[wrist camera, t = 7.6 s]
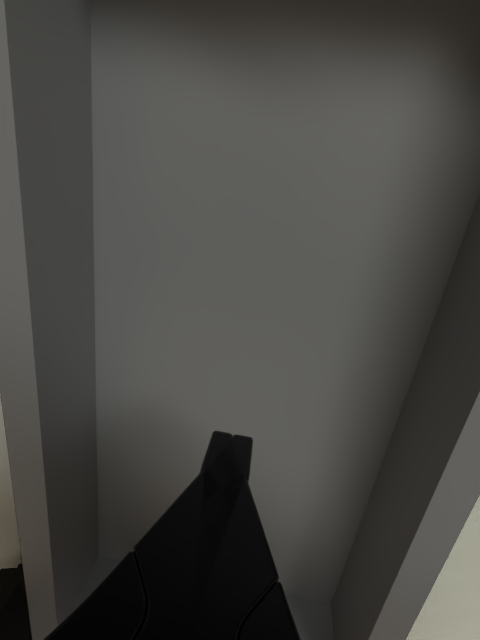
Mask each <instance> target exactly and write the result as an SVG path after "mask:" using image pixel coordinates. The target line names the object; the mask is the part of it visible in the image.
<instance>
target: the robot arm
mask: <svg viewBox="0 0 480 640" xmlns="http://www.w3.org/2000/svg"><path fill="white" fill-rule="evenodd" d="M252 448H253V439H252V438H251V437H248V436H243V435H238V434H235V435H232V434H231V433H227V432H222V431H214V432H213V433H212V436H211V439H210V442H209V445H208V448H207V451H206V454H205V457H204V460H203V463H202V466H201V470H200V473H199V474H198V475H197V477H196V478H195V479H194V480H193V481H192V482H191V483H190V484H189V485H188V487H187V488H186V489H185V490H184V491H183V492H182V493H181V494H180V496H179V497H178V498H177V499H176V500H175V501H174V502H173V503H172V505H171V506H170V507H169V508H168V509H167V510H166V511H165V512H164V514H163V515H162V516H161V517H160V518H159V519H158V520H157V521H156V522H155V524H154V525H153V526H152V527H151V528H150V529H149V530H148V531H147V533H146V534H145V535H144V536H143V537H142V538H141V539H140V540H139V542H138V543H137V544H136V545H135V546H134V547H133V551H130V552H128V554H127V555H126V556H125V557H124V558H123V559H122V560H121V561H120V563H119V564H118V565H117V566H116V567H115V568H114V569H113V570H112V571H111V572H110V574H109V575H108V576H107V577H106V578H105V579H104V580H103V581H102V582H101V583H100V584H99V585H98V586H97V587H96V588H95V589H94V590H93V592H92V593H91V594H90V595H89V596H88V597H87V598H86V599H85V600H84V601H83V602H82V603H81V604H80V605H79V606H78V607H76V608H75V609H74V610H73V611H72V612H71V613H70V614H69V615H68V616H67V617H66V618H65V619H64V620H63V621H62V622H61V623H60V624H59V625H58V626H57V627H56V628H54V629H53V630H52V631H51V632H50V633H49V634H48V635H47V636H46V637H45V638H44V639H43V640H301V639H300V636H299V633H298V630H297V628H296V625H295V622H294V619H293V616H292V614H291V611H290V608H289V605H288V602H287V599H286V596H285V593H284V590H283V587H282V584H281V583H280V582H279V575H278V572H277V569H276V566H275V563H274V560H273V557H272V554H271V551H270V548H269V545H268V542H267V538H266V535H265V532H264V529H263V526H262V523H261V520H260V517H259V514H258V511H257V508H256V505H255V502H254V499H253V496H252V493H251V490H250V486H249V483H248V482H249V476H250V467H251V457H252Z"/></svg>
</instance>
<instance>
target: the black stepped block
mask: <svg viewBox="0 0 480 640" xmlns="http://www.w3.org/2000/svg"><path fill="white" fill-rule="evenodd" d="M0 640H32V633H31V625H30V618H29V610H28V602H27V595H26V587H25V579H24V571H23V564H19V566H18V567H17V568H7V569H1V570H0Z"/></svg>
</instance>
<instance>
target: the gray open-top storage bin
mask: <svg viewBox="0 0 480 640" xmlns="http://www.w3.org/2000/svg"><path fill="white" fill-rule="evenodd" d="M0 394H1V402H2V409H3V417H4V425H5V433H6V440H7V448H8V456H9V463H10V471H11V479H12V487H13V494H14V502H15V510H16V517H17V525H18V533H19V541H20V548H21V556H22V564H23V571H24V579H25V587H26V595H27V602H28V610H29V618H30V625H31V633H32V640H43V639H44V638H45V637H46V636H47V635H48V634H49V633H50V632H51V631H52V630H53V629H54V628H56V627H57V626H58V625H59V624H60V623H61V622H62V621H63V620H64V619H65V618H66V617H67V616H68V615H69V614H70V613H71V612H72V611H73V610H74V609H75V608H76V607H78V606H79V605H80V604H81V603H82V602H83V601H84V600H85V599H86V598H87V597H88V596H89V595H90V594H91V593H92V592H93V590H94V589H95V588H96V587H97V586H98V585H99V584H100V583H101V582H102V581H103V580H104V579H105V578H106V577H107V576H108V575H109V574H110V572H111V571H112V570H113V569H114V568H115V567H116V566H117V565H118V564H119V563H120V561H121V560H122V559H123V558H124V557H125V556H126V555H127V554H128V552H130V551H133V547H134V546H135V545H136V544H137V543H138V542H139V540H140V539H141V538H142V537H143V536H144V535H145V534H146V533H147V531H148V530H149V529H150V528H151V527H152V526H153V525H154V524H155V522H156V521H157V520H158V519H159V518H160V517H161V516H162V515H163V514H164V512H165V511H166V510H167V509H168V508H169V507H170V506H171V505H172V503H173V502H174V501H175V500H176V499H177V498H178V497H179V496H180V494H181V493H182V492H183V491H184V490H185V489H186V488H187V487H188V485H189V484H190V483H191V482H192V481H193V480H194V479H195V478H196V477H197V475H198V474H199V473H200V470H201V466H202V463H203V460H204V457H205V454H206V451H207V448H208V445H209V442H210V439H211V436H212V433H213V432H214V431H222V432H227V433H231V434H232V435H235V434H238V435H243V436H248V437H251V438H252V439H253V448H252V457H251V467H250V476H249V482H248V483H249V486H250V490H251V493H252V496H253V499H254V502H255V505H256V508H257V511H258V514H259V517H260V520H261V523H262V526H263V529H264V532H265V535H266V538H267V542H268V545H269V548H270V551H271V554H272V557H273V560H274V563H275V566H276V569H277V572H278V575H279V582H280V583H281V584H282V587H283V590H284V593H285V596H286V599H287V602H288V605H289V608H290V611H291V614H292V616H293V619H294V622H295V625H296V628H297V630H298V633H299V636H300V639H301V640H406V638H407V636H408V634H409V632H410V630H411V628H412V626H413V624H414V622H415V620H416V618H417V616H418V614H419V612H420V610H421V608H422V606H423V604H424V603H425V601H426V599H427V597H428V595H429V593H430V591H431V589H432V587H433V585H434V583H435V581H436V579H437V577H438V575H439V573H440V571H441V569H442V567H443V565H444V563H445V561H446V560H447V558H448V556H449V554H450V552H451V550H452V548H453V546H454V544H455V542H456V540H457V538H458V536H459V534H460V532H461V530H462V528H463V526H464V524H465V522H466V520H467V519H468V517H469V515H470V513H471V511H472V509H473V507H474V505H475V503H476V501H477V499H478V497H479V495H480V0H0Z"/></svg>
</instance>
